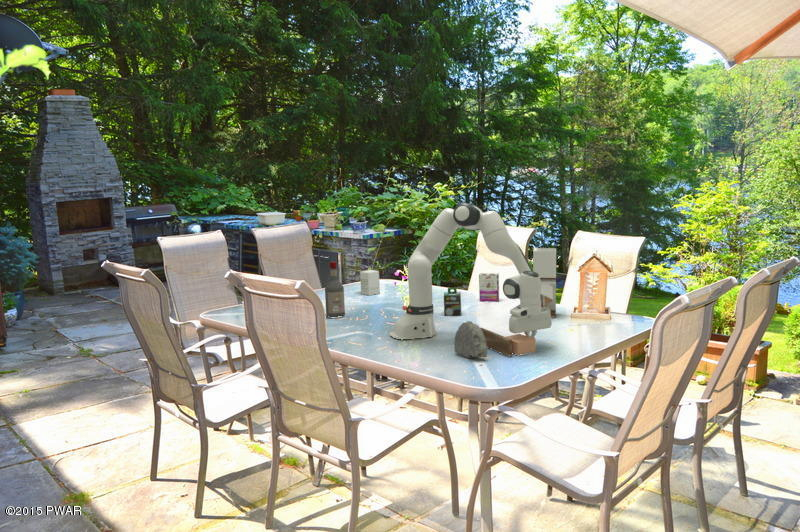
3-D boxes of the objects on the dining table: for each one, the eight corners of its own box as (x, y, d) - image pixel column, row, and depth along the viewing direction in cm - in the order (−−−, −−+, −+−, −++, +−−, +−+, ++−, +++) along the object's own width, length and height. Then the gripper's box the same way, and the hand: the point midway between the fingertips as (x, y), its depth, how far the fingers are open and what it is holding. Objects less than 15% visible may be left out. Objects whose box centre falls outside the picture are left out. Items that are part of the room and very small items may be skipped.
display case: (533, 317, 327) (533, 251, 322) (533, 313, 337) (533, 248, 332) (555, 318, 324) (556, 251, 319) (555, 313, 334) (556, 248, 329)
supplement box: (371, 292, 409) (371, 269, 407) (380, 293, 402) (379, 270, 400) (360, 294, 404) (359, 271, 401) (368, 296, 397) (368, 272, 394)
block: (517, 356, 262) (517, 342, 261) (501, 351, 270) (501, 337, 269) (535, 352, 267) (535, 338, 266) (519, 347, 275) (519, 333, 274)
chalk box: (461, 312, 345) (460, 285, 342) (461, 315, 336) (460, 288, 333) (444, 312, 346) (443, 285, 343) (443, 316, 337) (443, 288, 334)
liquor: (346, 317, 341) (343, 262, 336) (329, 319, 338) (327, 264, 333) (341, 313, 349) (338, 260, 345) (325, 315, 346) (322, 261, 341)
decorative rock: (452, 353, 268) (452, 319, 266) (465, 350, 271) (464, 317, 269) (477, 362, 254) (476, 326, 252) (489, 359, 258) (489, 324, 255)
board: (507, 356, 261) (507, 340, 260) (477, 343, 282) (477, 328, 281) (511, 356, 262) (511, 339, 261) (481, 342, 283) (481, 327, 282)
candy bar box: (499, 300, 372) (499, 273, 369) (498, 302, 367) (498, 274, 365) (480, 299, 375) (480, 272, 373) (479, 301, 370) (478, 274, 368)
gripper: (545, 304, 276) (545, 335, 278) (506, 310, 268) (506, 342, 270) (554, 307, 271) (554, 338, 273) (515, 313, 262) (515, 345, 264)
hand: (530, 340), depth 271 cm, fingers closed
